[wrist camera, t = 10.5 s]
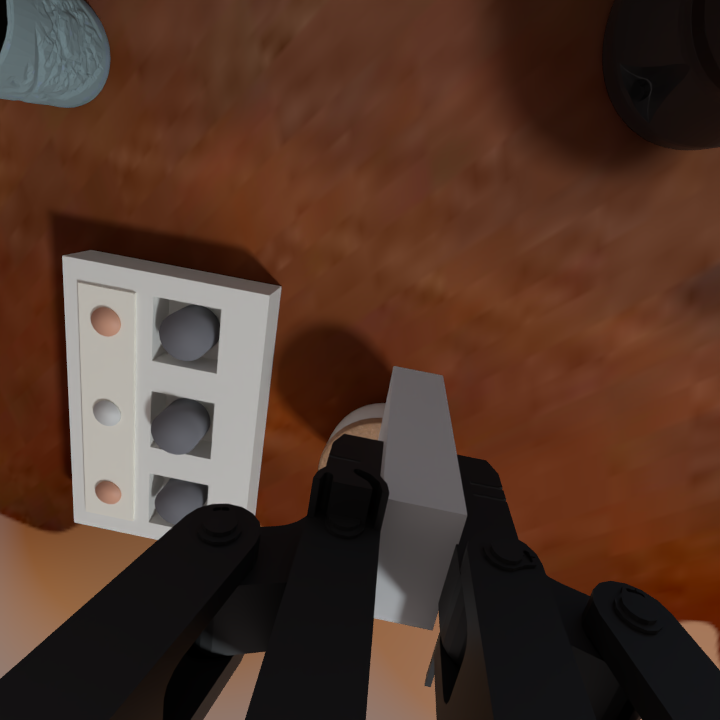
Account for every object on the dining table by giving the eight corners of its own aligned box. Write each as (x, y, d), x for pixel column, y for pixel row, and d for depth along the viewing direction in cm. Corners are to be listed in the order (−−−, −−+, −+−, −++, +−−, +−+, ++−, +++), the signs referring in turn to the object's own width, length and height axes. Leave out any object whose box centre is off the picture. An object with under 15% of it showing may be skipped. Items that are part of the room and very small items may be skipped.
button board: (281, 286, 44) (268, 296, 40) (253, 531, 54) (240, 560, 50) (91, 249, 45) (58, 256, 40) (97, 499, 54) (71, 525, 50)
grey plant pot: (-21, 40, 40) (-191, -18, 28) (51, -62, 37) (-106, -171, 26) (73, 143, 42) (-52, 127, 30) (148, 55, 39) (41, 1, 28)
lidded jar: (332, 479, 51) (316, 540, 42) (329, 384, 47) (311, 429, 38) (436, 484, 50) (442, 548, 41) (441, 387, 46) (448, 435, 37)
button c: (210, 475, 50) (198, 493, 47) (207, 510, 52) (196, 529, 49) (169, 467, 50) (155, 484, 48) (168, 502, 52) (154, 520, 49)
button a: (222, 309, 44) (209, 317, 41) (219, 354, 45) (206, 365, 43) (175, 300, 44) (159, 308, 41) (173, 345, 46) (158, 355, 43)
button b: (211, 402, 46) (199, 416, 43) (209, 442, 48) (196, 458, 45) (167, 393, 46) (151, 407, 43) (165, 433, 48) (150, 449, 45)
